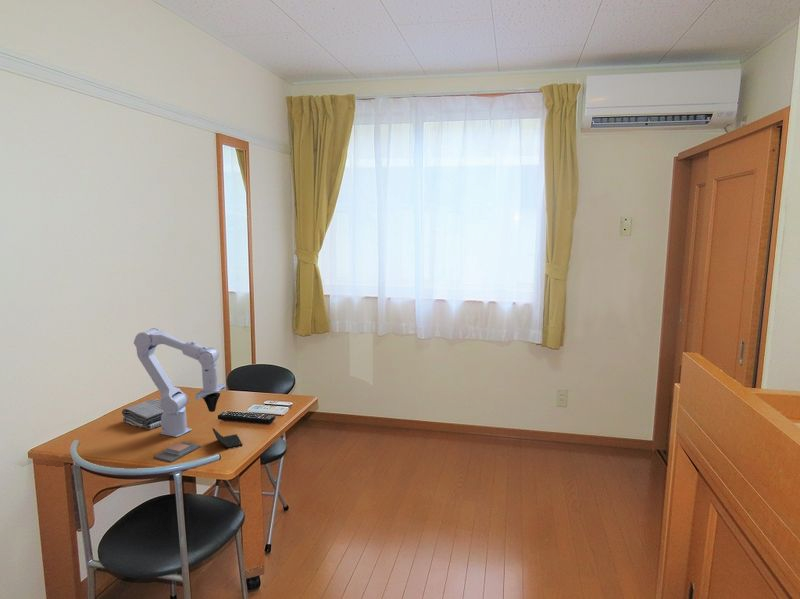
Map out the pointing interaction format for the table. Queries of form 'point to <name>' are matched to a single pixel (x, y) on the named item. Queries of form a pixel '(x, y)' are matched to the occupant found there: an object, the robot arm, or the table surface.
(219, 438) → the handheld gaming console
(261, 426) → the table surface
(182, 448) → the card deck
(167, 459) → the grey rectangular slab
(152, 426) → the towel
